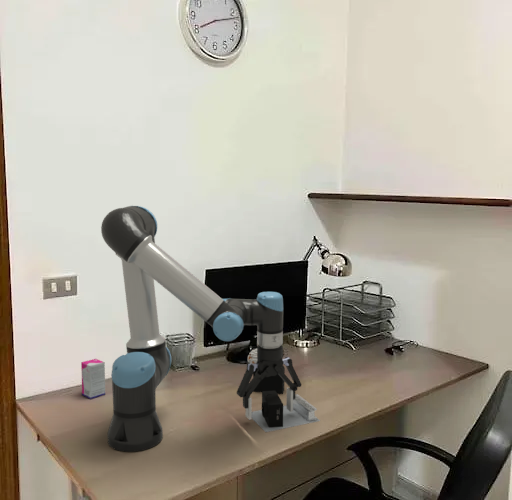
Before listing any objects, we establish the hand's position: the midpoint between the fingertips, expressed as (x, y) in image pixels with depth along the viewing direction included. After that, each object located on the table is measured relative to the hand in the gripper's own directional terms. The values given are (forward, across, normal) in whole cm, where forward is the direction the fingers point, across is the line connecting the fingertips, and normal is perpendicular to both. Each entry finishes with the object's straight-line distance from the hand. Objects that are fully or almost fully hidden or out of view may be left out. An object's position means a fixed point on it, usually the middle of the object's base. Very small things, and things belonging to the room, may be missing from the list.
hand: (269, 413), depth 165 cm
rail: (+2, +11, 0) cm, 11 cm away
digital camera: (+2, 0, 0) cm, 2 cm away
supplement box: (+3, -44, +44) cm, 63 cm away
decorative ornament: (+4, +16, +44) cm, 47 cm away
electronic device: (+4, +10, +20) cm, 22 cm away
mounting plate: (+3, +4, 0) cm, 6 cm away
